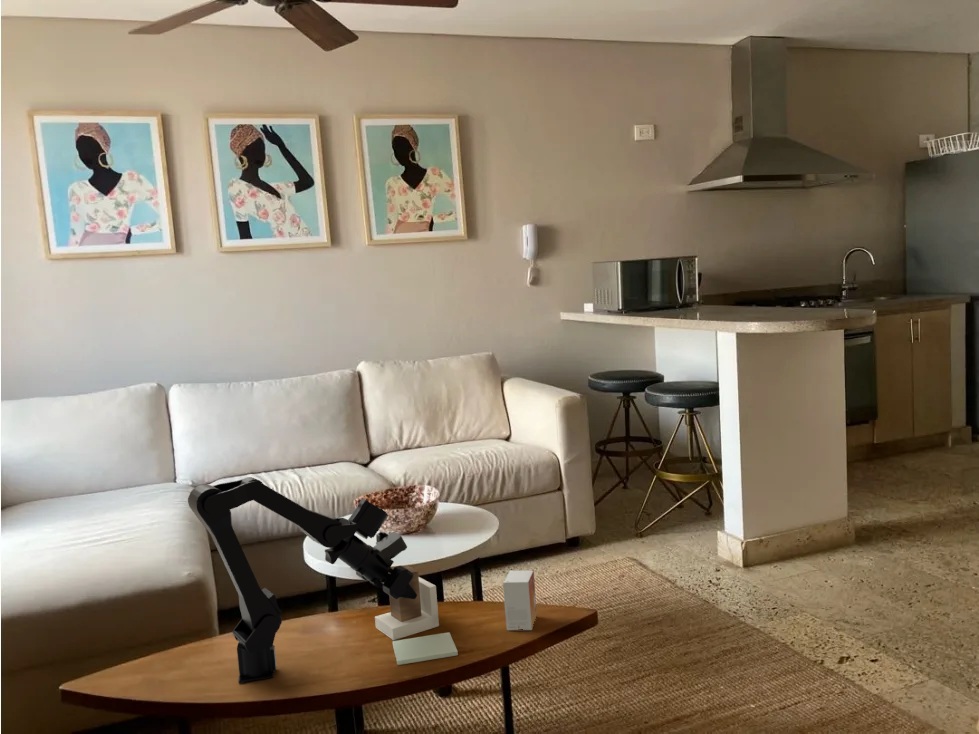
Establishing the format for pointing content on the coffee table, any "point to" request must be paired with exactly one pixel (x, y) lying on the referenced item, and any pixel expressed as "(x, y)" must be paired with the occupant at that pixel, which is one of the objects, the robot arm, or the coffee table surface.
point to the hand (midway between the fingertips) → (410, 593)
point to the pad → (424, 648)
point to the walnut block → (407, 601)
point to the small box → (520, 600)
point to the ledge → (415, 625)
